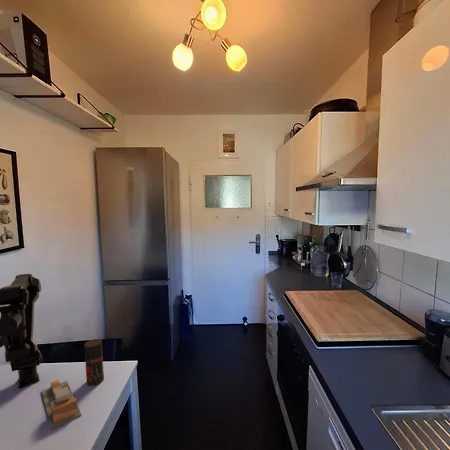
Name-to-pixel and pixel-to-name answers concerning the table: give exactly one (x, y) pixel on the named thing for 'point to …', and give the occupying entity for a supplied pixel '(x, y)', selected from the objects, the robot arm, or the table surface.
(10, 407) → the table surface
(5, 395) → the table surface
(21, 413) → the table surface
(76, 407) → the rail
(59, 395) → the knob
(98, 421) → the table surface
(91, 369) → the deodorant
